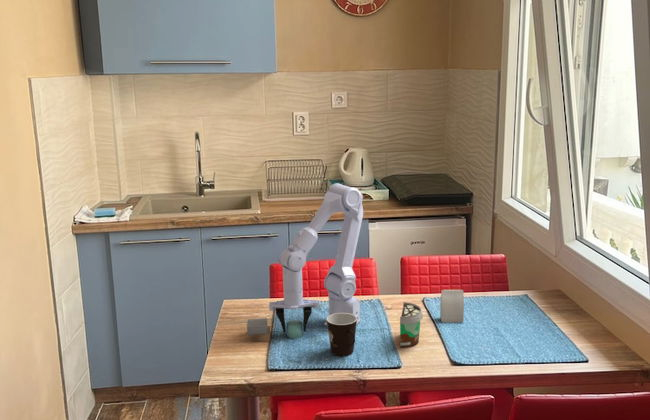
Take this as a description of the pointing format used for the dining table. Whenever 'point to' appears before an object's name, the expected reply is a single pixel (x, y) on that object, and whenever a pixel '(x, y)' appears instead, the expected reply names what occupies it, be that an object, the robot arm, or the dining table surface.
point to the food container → (410, 325)
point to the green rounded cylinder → (294, 329)
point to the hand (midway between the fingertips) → (294, 330)
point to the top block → (257, 326)
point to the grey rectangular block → (452, 306)
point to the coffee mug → (342, 333)
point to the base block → (259, 337)
